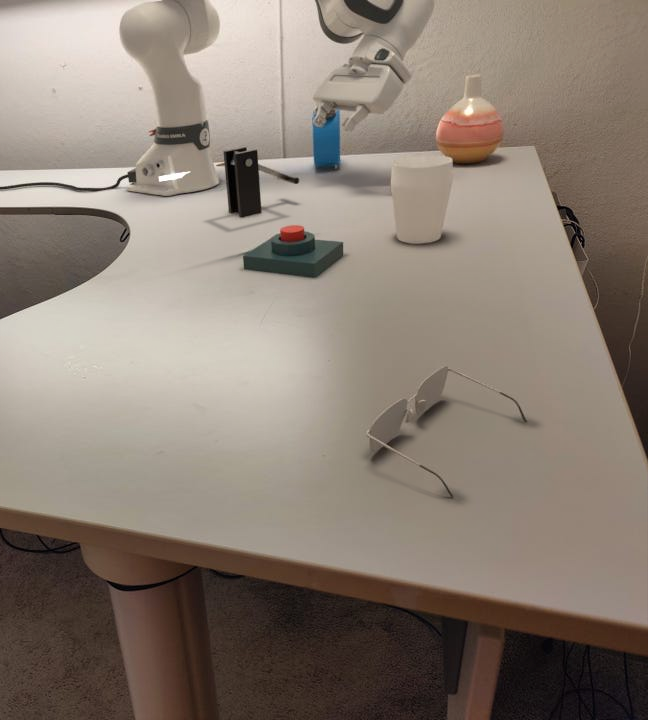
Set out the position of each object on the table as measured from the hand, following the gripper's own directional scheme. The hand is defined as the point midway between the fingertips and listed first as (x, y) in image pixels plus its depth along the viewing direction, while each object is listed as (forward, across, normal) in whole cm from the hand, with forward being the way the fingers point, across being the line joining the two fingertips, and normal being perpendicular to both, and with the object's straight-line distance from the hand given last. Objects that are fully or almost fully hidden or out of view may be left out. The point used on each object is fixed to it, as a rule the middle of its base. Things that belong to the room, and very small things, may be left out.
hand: (331, 127), depth 127 cm
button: (+26, +27, -12) cm, 39 cm away
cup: (+14, +31, +6) cm, 34 cm away
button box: (+28, +27, -9) cm, 40 cm away
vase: (-17, -2, +36) cm, 40 cm away
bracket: (+24, 0, -4) cm, 24 cm away
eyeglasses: (+39, +75, -20) cm, 87 cm away
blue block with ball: (-1, -24, +21) cm, 32 cm away
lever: (+16, 0, -7) cm, 17 cm away
